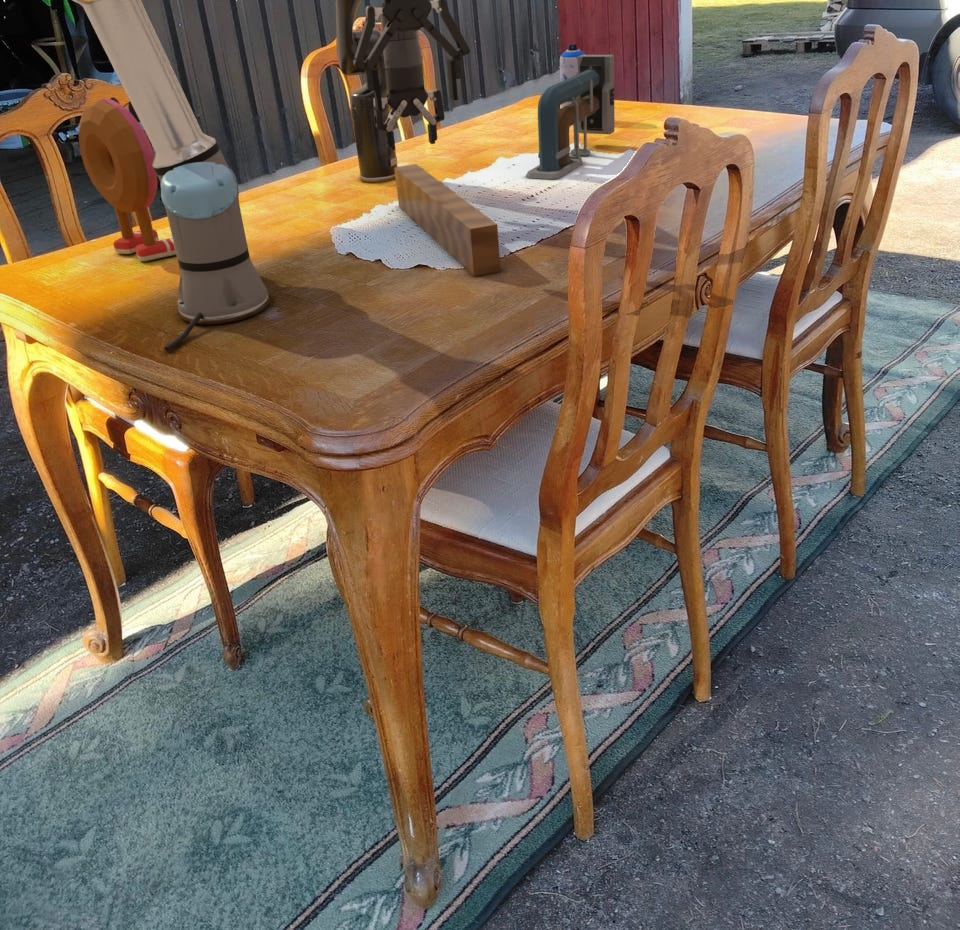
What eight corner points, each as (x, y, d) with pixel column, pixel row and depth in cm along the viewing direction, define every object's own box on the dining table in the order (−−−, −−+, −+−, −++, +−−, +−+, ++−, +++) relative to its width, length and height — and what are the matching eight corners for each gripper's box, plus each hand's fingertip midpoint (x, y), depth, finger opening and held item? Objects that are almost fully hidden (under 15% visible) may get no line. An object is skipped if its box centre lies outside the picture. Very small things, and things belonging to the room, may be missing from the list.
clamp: (557, 179, 222) (554, 81, 212) (523, 177, 226) (518, 80, 215) (614, 143, 248) (614, 54, 237) (583, 142, 252) (581, 54, 241)
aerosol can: (559, 122, 275) (557, 47, 265) (562, 117, 282) (559, 42, 272) (587, 121, 274) (585, 45, 263) (589, 115, 280) (587, 41, 270)
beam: (500, 271, 172) (497, 224, 168) (474, 276, 171) (470, 228, 167) (420, 203, 214) (416, 163, 210) (398, 206, 213) (394, 167, 209)
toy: (199, 253, 194) (163, 96, 179) (154, 268, 188) (113, 106, 173) (144, 236, 207) (106, 89, 192) (101, 250, 201) (58, 98, 186)
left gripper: (469, -39, 165) (479, 91, 176) (324, -24, 161) (344, 109, 172) (480, -38, 159) (490, 98, 170) (330, -21, 154) (350, 117, 165)
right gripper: (432, 56, 197) (439, 138, 205) (364, 65, 193) (374, 148, 201) (443, 60, 191) (450, 144, 199) (373, 69, 187) (383, 155, 195)
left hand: (417, 104), depth 171 cm, fingers open, 13 cm apart
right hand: (412, 146), depth 200 cm, fingers open, 8 cm apart
